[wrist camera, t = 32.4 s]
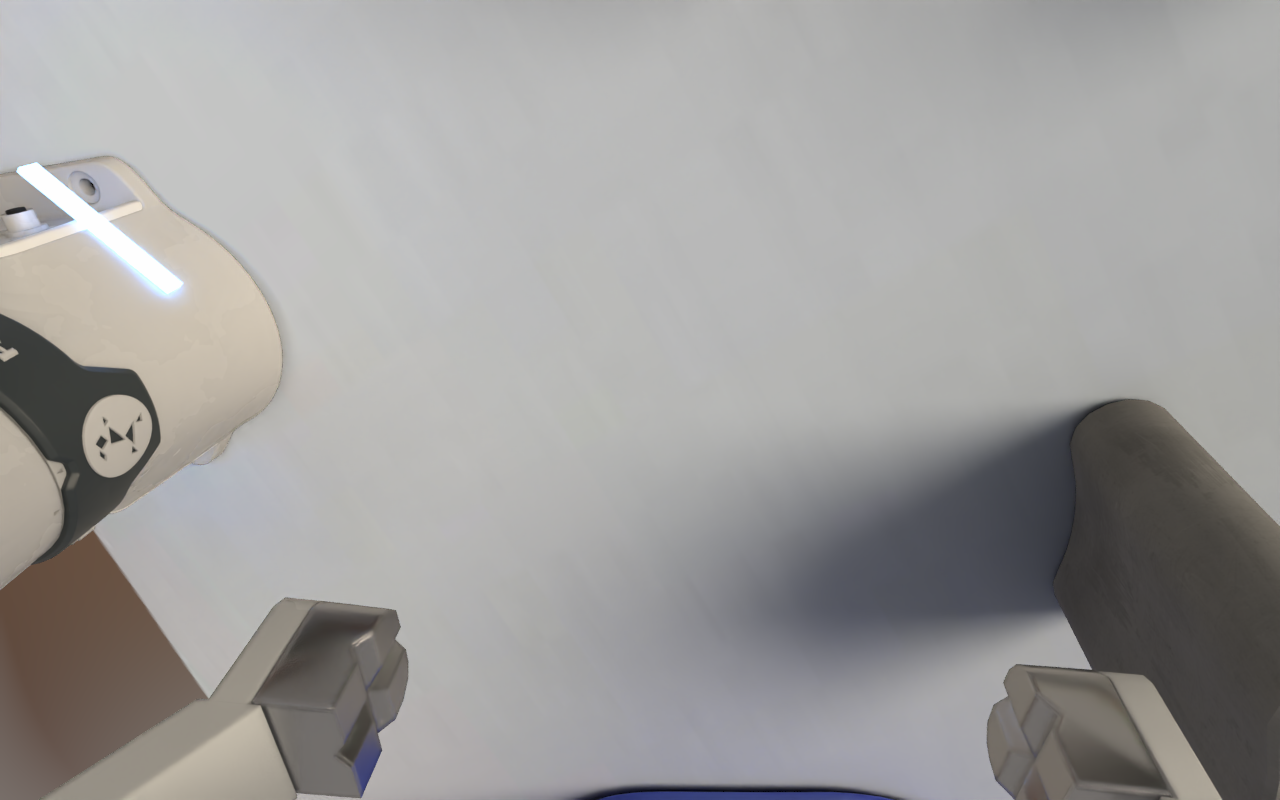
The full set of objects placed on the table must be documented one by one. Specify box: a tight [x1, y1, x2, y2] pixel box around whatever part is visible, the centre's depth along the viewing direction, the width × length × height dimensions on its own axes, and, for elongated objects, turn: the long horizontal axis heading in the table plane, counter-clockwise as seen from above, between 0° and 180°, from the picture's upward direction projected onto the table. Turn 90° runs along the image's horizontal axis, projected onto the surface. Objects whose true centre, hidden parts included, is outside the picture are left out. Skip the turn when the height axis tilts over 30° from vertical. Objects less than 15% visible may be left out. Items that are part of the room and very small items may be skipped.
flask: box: [1053, 399, 1280, 800], centre depth 32 cm, size 15×6×20 cm, turn 10°
